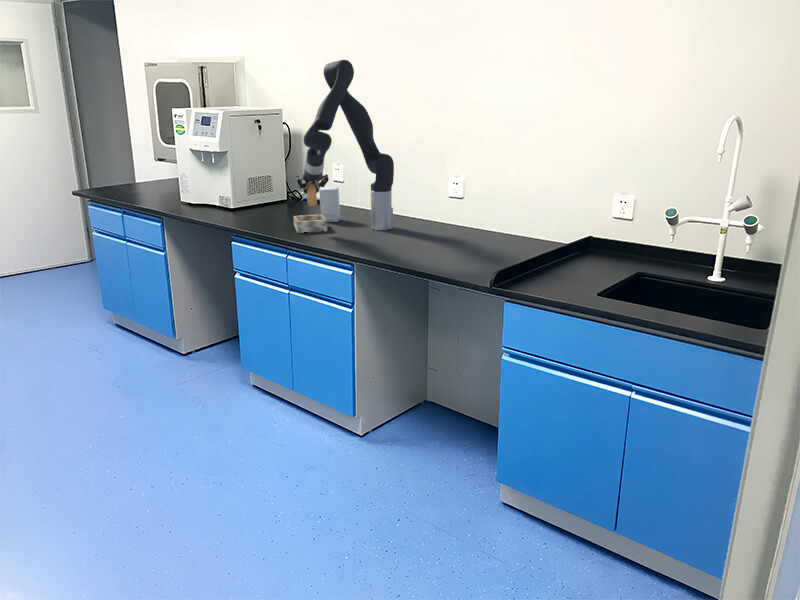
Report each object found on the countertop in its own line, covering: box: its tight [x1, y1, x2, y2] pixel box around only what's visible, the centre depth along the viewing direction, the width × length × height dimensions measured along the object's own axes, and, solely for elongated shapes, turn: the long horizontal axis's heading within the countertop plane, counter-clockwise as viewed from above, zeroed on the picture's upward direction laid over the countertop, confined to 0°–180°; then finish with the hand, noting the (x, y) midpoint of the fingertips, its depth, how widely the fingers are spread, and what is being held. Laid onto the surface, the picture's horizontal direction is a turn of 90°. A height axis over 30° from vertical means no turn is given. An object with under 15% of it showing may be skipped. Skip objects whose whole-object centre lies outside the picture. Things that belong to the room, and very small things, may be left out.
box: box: [293, 213, 328, 234], centre depth 282 cm, size 13×13×5 cm
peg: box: [306, 184, 318, 207], centre depth 270 cm, size 4×4×12 cm
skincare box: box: [318, 186, 341, 223], centre depth 297 cm, size 8×7×16 cm
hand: (310, 191), depth 272 cm, fingers closed on peg, 4 cm apart
